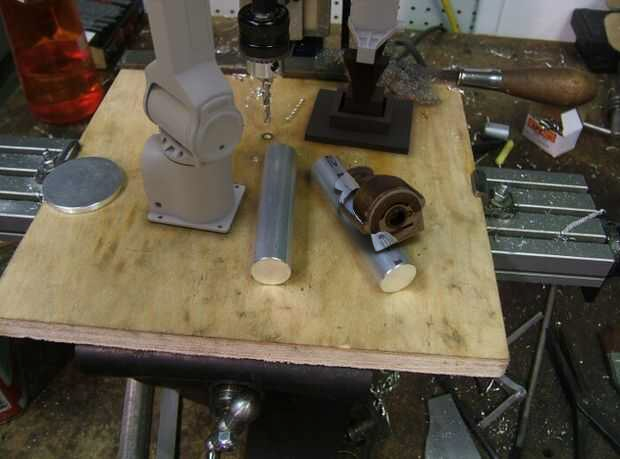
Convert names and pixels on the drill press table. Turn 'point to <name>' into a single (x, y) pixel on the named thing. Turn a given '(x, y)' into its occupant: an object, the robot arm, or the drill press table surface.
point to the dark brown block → (365, 109)
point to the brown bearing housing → (385, 204)
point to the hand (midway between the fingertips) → (364, 87)
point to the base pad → (360, 123)
